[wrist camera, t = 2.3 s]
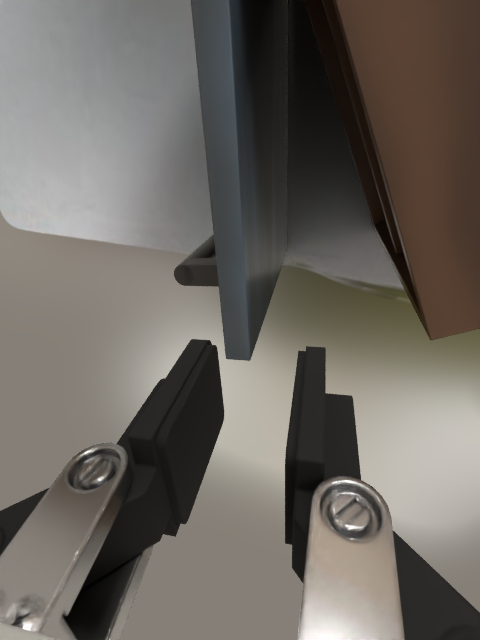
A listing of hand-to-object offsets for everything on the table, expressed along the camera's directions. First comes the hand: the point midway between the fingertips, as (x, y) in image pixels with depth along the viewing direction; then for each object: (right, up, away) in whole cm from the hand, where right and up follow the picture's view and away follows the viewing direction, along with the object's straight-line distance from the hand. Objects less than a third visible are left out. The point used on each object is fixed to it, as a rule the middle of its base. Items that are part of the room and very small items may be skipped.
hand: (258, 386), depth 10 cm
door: (+1, +22, +26) cm, 34 cm away
